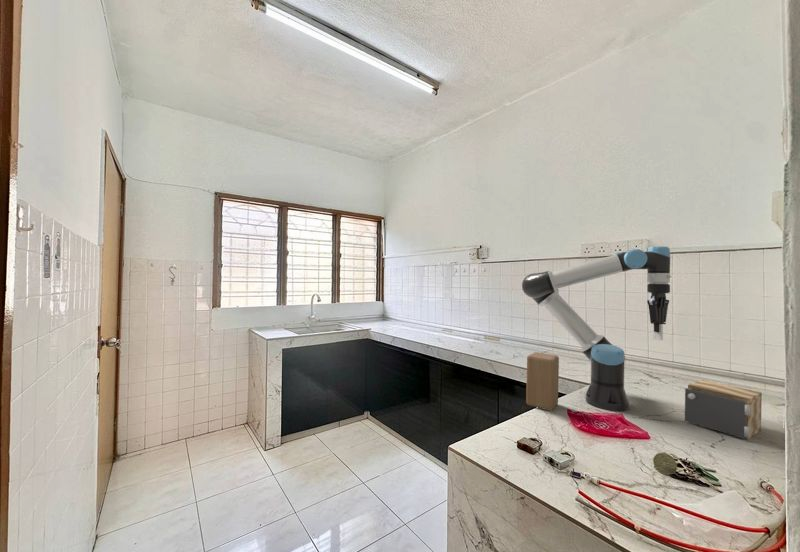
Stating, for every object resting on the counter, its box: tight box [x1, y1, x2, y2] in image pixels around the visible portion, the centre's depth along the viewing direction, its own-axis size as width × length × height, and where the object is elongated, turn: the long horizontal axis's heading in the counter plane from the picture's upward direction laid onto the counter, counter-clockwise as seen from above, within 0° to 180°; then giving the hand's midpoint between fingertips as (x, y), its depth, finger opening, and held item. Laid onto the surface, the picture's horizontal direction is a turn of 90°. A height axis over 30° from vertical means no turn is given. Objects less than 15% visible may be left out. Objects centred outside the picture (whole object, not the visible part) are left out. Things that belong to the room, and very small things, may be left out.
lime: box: [652, 452, 678, 476], centre depth 88 cm, size 4×5×5 cm
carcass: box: [687, 379, 763, 440], centre depth 118 cm, size 14×16×13 cm
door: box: [684, 387, 750, 440], centre depth 113 cm, size 3×16×12 cm, turn 32°
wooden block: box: [525, 351, 560, 411], centre depth 134 cm, size 10×10×20 cm
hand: (658, 339), depth 139 cm, fingers closed
